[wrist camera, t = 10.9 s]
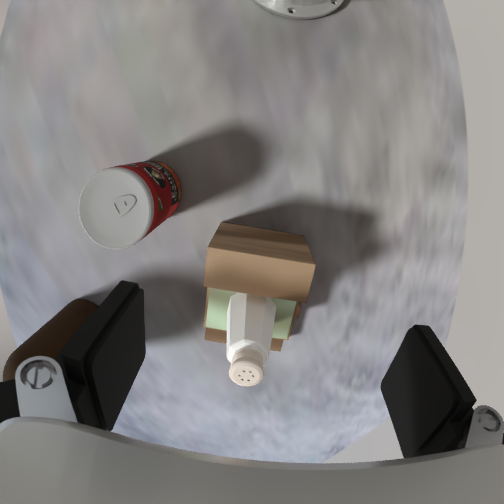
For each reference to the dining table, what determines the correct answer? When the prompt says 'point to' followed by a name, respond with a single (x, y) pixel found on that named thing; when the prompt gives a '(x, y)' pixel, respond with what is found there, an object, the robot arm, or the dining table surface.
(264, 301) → the pepper shaker
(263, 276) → the stand
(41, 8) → the dining table surface
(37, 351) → the olive oil
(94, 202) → the canned food
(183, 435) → the dining table surface
